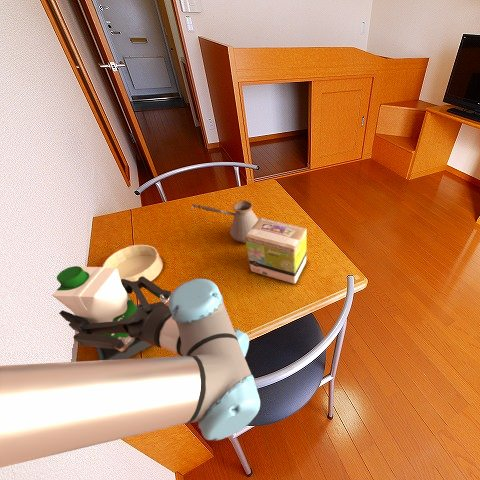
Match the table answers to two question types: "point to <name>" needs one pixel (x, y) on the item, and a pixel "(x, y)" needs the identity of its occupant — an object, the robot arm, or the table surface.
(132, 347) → the tray
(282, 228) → the tea box
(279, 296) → the table surface
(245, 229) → the coffee pot
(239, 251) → the table surface
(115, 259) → the bowl
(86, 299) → the milk carton
